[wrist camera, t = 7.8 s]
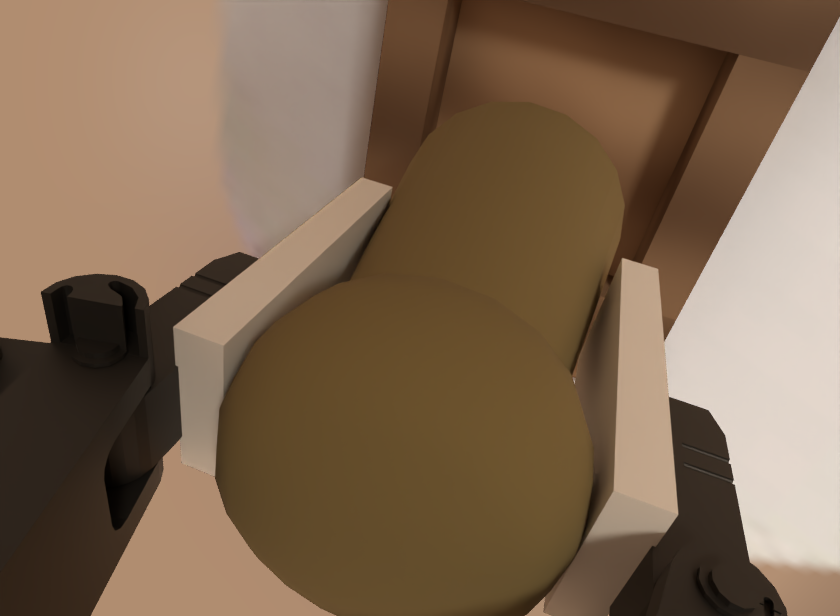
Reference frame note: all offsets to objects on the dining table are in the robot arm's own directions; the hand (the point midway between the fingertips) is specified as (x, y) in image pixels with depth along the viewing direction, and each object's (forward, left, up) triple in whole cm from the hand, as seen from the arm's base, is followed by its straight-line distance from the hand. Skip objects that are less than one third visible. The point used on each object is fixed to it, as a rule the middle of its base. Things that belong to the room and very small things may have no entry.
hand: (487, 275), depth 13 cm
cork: (0, 0, -3) cm, 3 cm away
